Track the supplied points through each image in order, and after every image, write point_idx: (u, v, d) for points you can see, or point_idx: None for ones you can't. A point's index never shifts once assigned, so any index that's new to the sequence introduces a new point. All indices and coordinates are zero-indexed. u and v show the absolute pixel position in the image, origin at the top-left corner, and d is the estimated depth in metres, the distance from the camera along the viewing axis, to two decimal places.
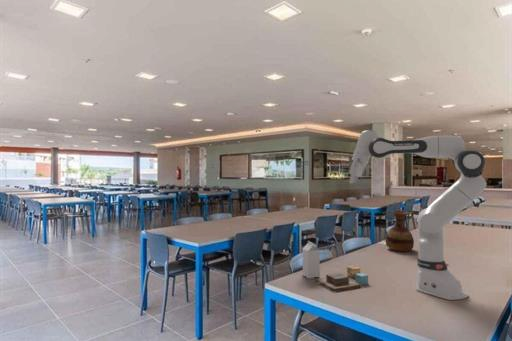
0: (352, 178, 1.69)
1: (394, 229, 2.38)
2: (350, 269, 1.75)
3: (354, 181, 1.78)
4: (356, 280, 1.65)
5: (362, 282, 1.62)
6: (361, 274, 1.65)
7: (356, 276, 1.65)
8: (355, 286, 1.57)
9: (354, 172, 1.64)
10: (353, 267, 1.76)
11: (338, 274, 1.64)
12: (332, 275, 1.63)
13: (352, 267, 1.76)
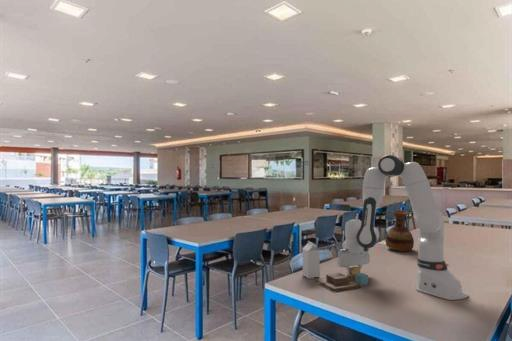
0: (347, 269, 1.74)
1: (394, 229, 2.38)
2: (350, 269, 1.75)
3: None
4: (356, 280, 1.65)
5: (362, 282, 1.62)
6: (361, 274, 1.65)
7: (356, 276, 1.65)
8: (355, 286, 1.57)
9: (339, 264, 1.72)
10: (353, 267, 1.76)
11: (338, 274, 1.64)
12: (332, 275, 1.63)
13: (352, 267, 1.76)
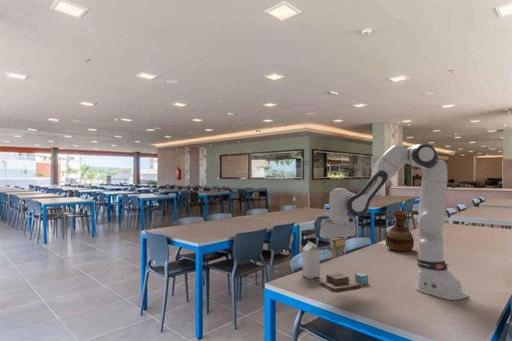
0: (330, 241, 1.62)
1: (394, 229, 2.38)
2: (334, 241, 1.63)
3: None
4: (356, 280, 1.65)
5: (362, 282, 1.62)
6: (361, 274, 1.65)
7: (356, 276, 1.65)
8: (355, 286, 1.57)
9: (322, 235, 1.60)
10: (337, 239, 1.64)
11: (338, 274, 1.64)
12: (332, 275, 1.63)
13: (336, 239, 1.64)
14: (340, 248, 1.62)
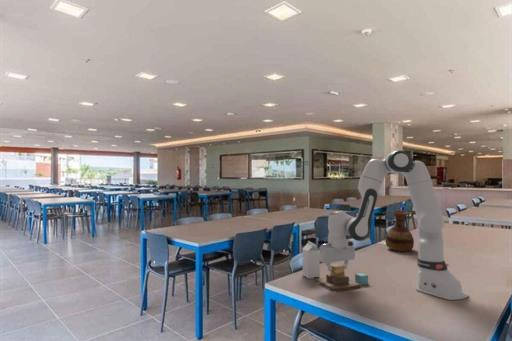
0: (328, 265, 1.60)
1: (394, 229, 2.38)
2: (333, 268, 1.61)
3: None
4: (356, 280, 1.65)
5: (362, 282, 1.62)
6: (361, 274, 1.65)
7: (356, 276, 1.65)
8: (355, 286, 1.57)
9: (321, 259, 1.58)
10: (337, 266, 1.62)
11: None
12: None
13: (336, 266, 1.62)
14: (340, 275, 1.60)
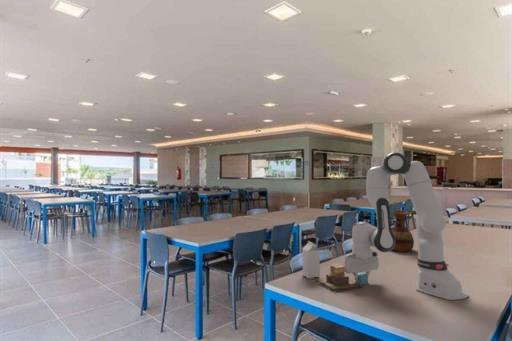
0: (355, 275, 1.63)
1: (394, 229, 2.38)
2: (333, 268, 1.61)
3: None
4: None
5: (362, 282, 1.62)
6: (361, 274, 1.65)
7: None
8: (355, 286, 1.57)
9: (347, 270, 1.60)
10: (337, 266, 1.62)
11: None
12: None
13: (336, 266, 1.62)
14: (340, 275, 1.60)
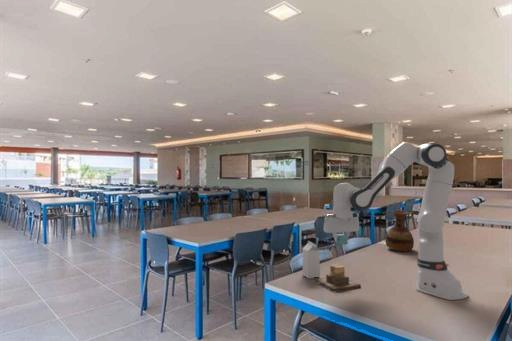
0: (334, 235, 1.62)
1: (394, 229, 2.38)
2: (333, 268, 1.61)
3: None
4: None
5: (341, 242, 1.61)
6: (341, 234, 1.64)
7: None
8: (355, 286, 1.57)
9: (326, 229, 1.59)
10: (337, 266, 1.62)
11: None
12: None
13: (336, 266, 1.62)
14: (340, 275, 1.60)
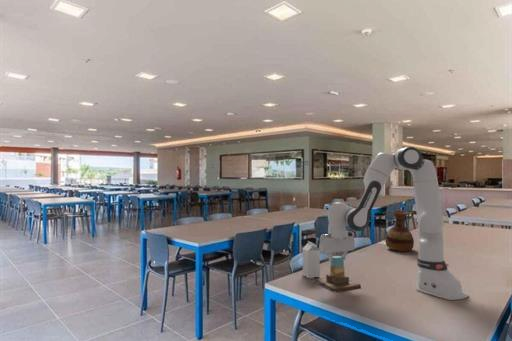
0: (328, 256, 1.60)
1: (394, 229, 2.38)
2: (333, 268, 1.61)
3: None
4: (332, 263, 1.63)
5: (337, 264, 1.60)
6: (337, 257, 1.63)
7: None
8: (355, 286, 1.57)
9: (321, 250, 1.58)
10: None
11: None
12: None
13: None
14: (340, 275, 1.60)
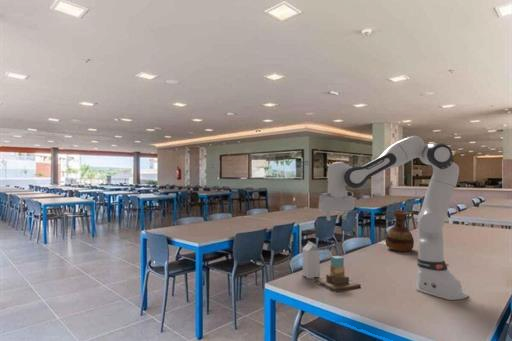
0: (327, 215, 1.61)
1: (394, 229, 2.38)
2: (333, 268, 1.61)
3: (343, 217, 1.65)
4: (332, 263, 1.63)
5: (337, 264, 1.60)
6: (337, 257, 1.63)
7: (332, 259, 1.63)
8: (355, 286, 1.57)
9: (321, 208, 1.59)
10: None
11: None
12: None
13: None
14: (340, 275, 1.60)
